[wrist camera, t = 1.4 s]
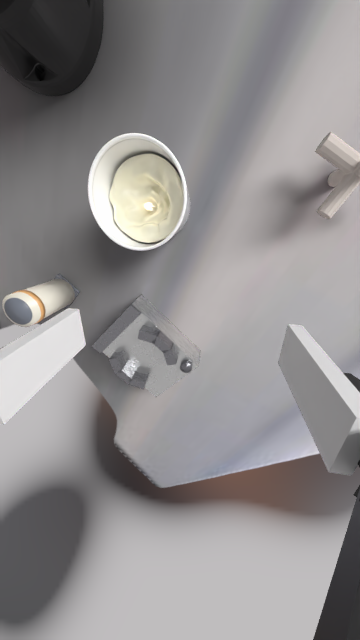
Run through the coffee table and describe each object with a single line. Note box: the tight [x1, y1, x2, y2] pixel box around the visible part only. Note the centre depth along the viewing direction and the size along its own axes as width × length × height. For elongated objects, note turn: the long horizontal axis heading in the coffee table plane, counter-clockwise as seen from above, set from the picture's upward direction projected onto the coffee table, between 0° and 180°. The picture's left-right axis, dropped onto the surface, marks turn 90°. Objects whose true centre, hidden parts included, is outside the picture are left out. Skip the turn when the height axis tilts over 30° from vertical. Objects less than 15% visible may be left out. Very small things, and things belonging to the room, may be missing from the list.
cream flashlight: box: [2, 274, 80, 327], centre depth 35 cm, size 5×5×10 cm
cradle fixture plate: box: [92, 294, 201, 397], centre depth 38 cm, size 15×11×7 cm
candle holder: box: [88, 133, 191, 251], centre depth 26 cm, size 10×10×12 cm
